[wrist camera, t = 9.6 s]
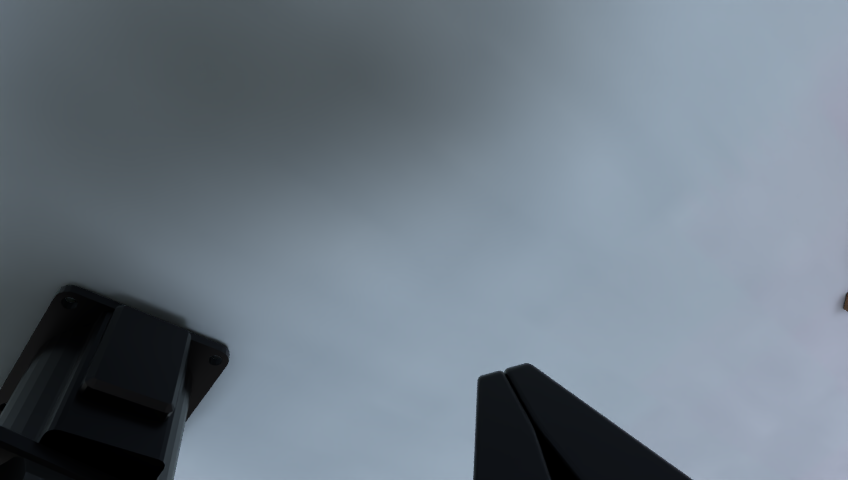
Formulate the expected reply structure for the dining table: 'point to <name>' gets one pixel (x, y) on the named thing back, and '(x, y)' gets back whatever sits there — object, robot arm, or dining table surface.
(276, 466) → the dining table surface
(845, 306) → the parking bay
